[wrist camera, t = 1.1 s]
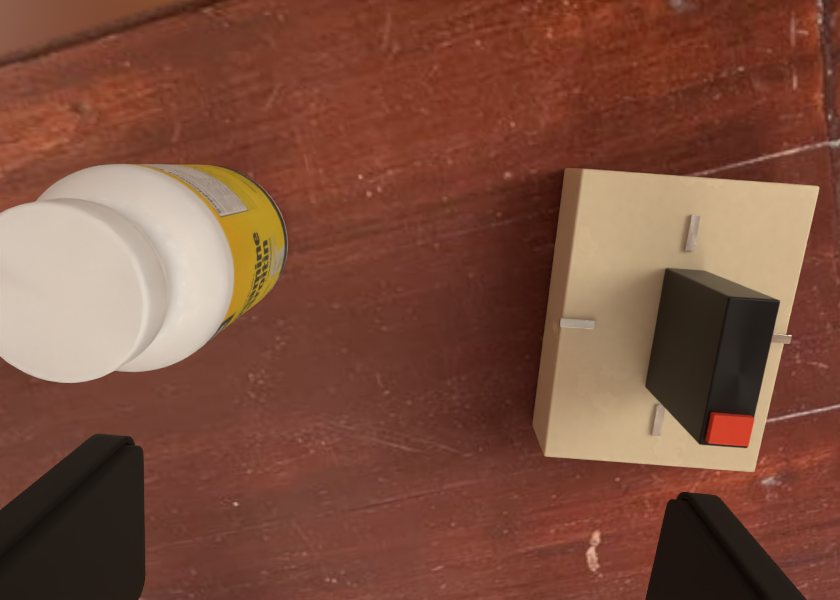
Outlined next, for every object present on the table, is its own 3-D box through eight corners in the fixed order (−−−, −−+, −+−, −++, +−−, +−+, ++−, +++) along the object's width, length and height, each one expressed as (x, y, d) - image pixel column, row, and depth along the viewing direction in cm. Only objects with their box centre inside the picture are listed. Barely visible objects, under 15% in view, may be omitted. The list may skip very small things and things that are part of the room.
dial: (665, 267, 22) (733, 298, 17) (706, 270, 22) (786, 302, 17) (644, 387, 24) (702, 449, 19) (683, 390, 24) (752, 452, 19)
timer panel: (562, 167, 25) (580, 168, 22) (777, 183, 25) (826, 186, 22) (529, 425, 27) (542, 458, 24) (722, 439, 27) (759, 475, 24)
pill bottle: (212, 336, 27) (50, 463, 15) (117, 222, 26) (-133, 269, 14) (322, 254, 26) (236, 327, 14) (228, 132, 25) (55, 107, 13)
